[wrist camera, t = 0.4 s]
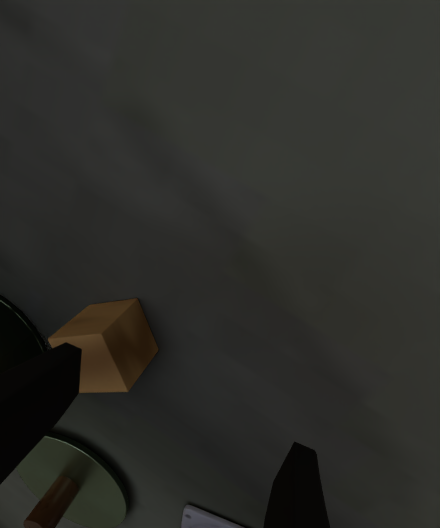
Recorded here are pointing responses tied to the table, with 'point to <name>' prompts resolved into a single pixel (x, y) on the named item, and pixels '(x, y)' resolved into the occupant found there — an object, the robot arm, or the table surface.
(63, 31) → the table surface
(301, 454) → the robot arm
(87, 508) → the lid
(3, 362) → the bowl
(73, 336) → the block
